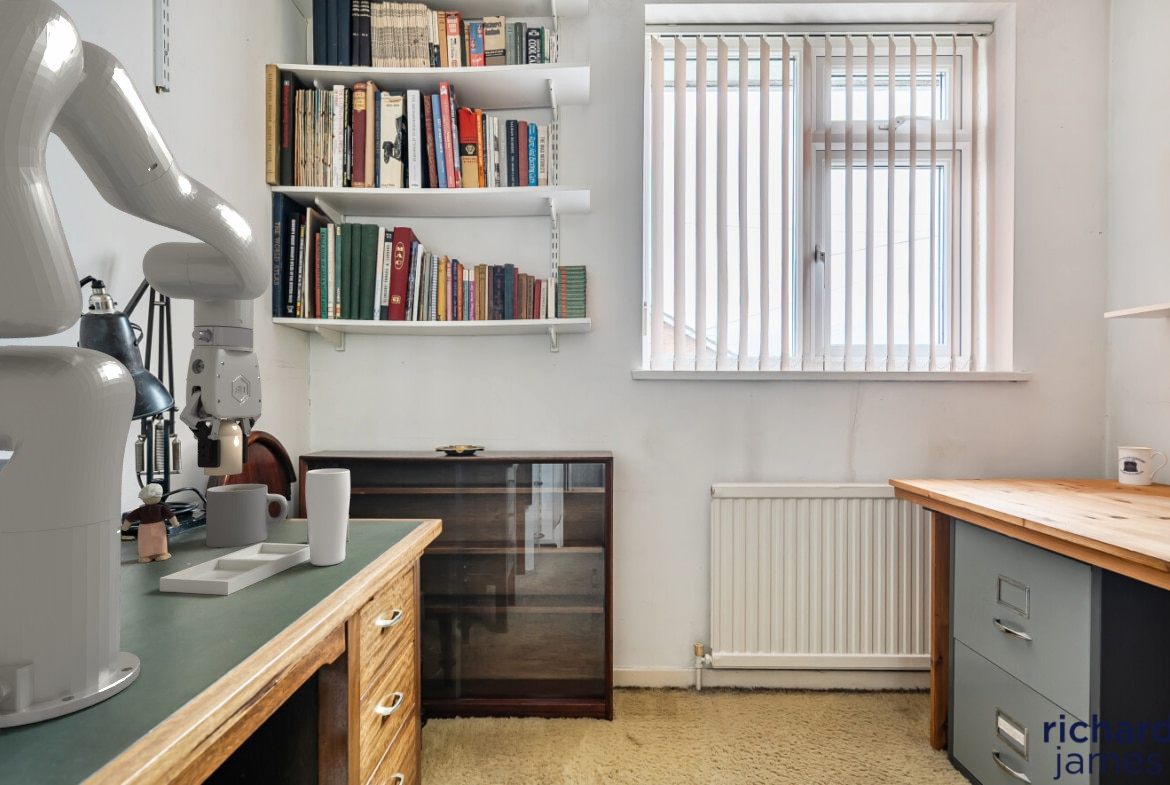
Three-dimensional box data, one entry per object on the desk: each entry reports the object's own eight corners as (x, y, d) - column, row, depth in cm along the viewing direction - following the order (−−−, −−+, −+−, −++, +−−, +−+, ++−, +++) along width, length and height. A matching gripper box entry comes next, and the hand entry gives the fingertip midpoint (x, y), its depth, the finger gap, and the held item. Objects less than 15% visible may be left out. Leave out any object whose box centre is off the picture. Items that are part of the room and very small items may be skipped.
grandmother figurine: (177, 553, 101) (177, 480, 102) (179, 558, 99) (180, 482, 99) (120, 561, 96) (121, 484, 97) (121, 566, 94) (122, 487, 94)
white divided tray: (228, 594, 80) (228, 581, 80) (159, 591, 82) (159, 578, 82) (317, 555, 100) (317, 544, 100) (261, 553, 102) (261, 542, 102)
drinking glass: (339, 568, 93) (339, 473, 93) (296, 568, 93) (297, 473, 93) (356, 556, 99) (357, 468, 100) (317, 556, 100) (317, 468, 100)
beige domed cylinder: (225, 475, 84) (226, 419, 84) (195, 475, 84) (196, 419, 84) (249, 471, 88) (249, 418, 88) (220, 471, 89) (221, 418, 89)
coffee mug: (197, 548, 105) (198, 492, 105) (216, 536, 114) (216, 484, 115) (280, 543, 108) (280, 489, 109) (291, 532, 118) (292, 482, 118)
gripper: (201, 335, 78) (200, 473, 77) (284, 346, 94) (284, 459, 94) (151, 336, 79) (150, 472, 79) (242, 346, 95) (242, 458, 95)
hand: (223, 463), depth 86 cm, fingers closed on beige domed cylinder, 4 cm apart
